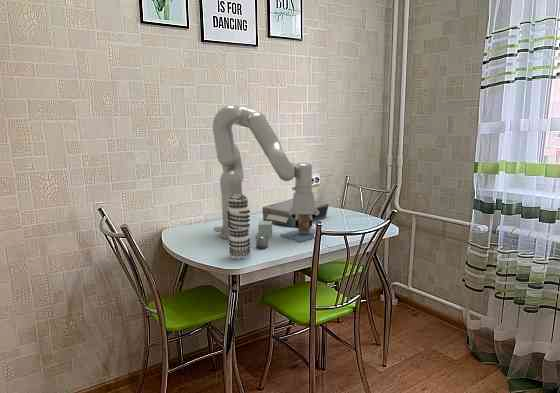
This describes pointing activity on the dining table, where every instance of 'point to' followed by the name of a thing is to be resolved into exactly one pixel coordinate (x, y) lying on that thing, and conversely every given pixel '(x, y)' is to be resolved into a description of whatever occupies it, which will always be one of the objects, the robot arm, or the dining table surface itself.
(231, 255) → the decorative candle
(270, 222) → the sage cube
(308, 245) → the dining table surface
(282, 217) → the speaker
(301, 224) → the walnut block
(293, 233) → the mat
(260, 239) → the grey cylinder
